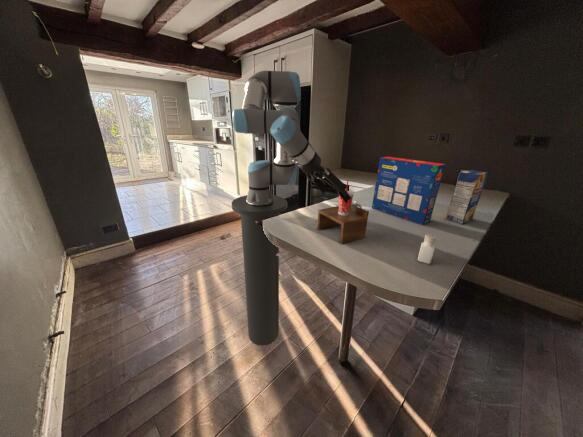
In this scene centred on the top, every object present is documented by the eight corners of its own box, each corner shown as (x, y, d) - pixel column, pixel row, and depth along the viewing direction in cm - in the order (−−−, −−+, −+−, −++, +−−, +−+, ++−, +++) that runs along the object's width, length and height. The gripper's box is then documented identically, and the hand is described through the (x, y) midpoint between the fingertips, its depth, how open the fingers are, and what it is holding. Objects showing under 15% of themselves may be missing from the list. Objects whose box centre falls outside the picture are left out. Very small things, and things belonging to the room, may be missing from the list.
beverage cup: (333, 211, 98) (337, 179, 93) (346, 210, 100) (350, 178, 95) (341, 217, 93) (345, 182, 87) (354, 215, 95) (358, 181, 89)
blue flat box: (430, 221, 115) (445, 164, 104) (422, 224, 110) (438, 165, 99) (379, 205, 135) (388, 156, 124) (371, 208, 130) (380, 157, 120)
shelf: (317, 228, 103) (318, 204, 99) (339, 223, 110) (341, 200, 105) (341, 244, 91) (344, 217, 86) (364, 236, 97) (369, 211, 93)
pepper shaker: (417, 261, 80) (423, 236, 77) (418, 256, 84) (424, 232, 80) (430, 265, 78) (437, 240, 75) (430, 259, 82) (437, 235, 78)
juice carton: (456, 214, 124) (470, 169, 115) (472, 219, 118) (488, 172, 109) (445, 219, 118) (459, 172, 109) (461, 224, 112) (478, 175, 103)
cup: (359, 214, 120) (362, 200, 117) (360, 220, 113) (363, 205, 110) (338, 212, 122) (340, 198, 119) (338, 218, 115) (340, 203, 112)
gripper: (281, 161, 88) (311, 194, 101) (322, 173, 68) (353, 212, 81) (293, 146, 88) (321, 181, 101) (338, 154, 69) (365, 196, 82)
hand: (335, 195), depth 91 cm, fingers open, 13 cm apart
